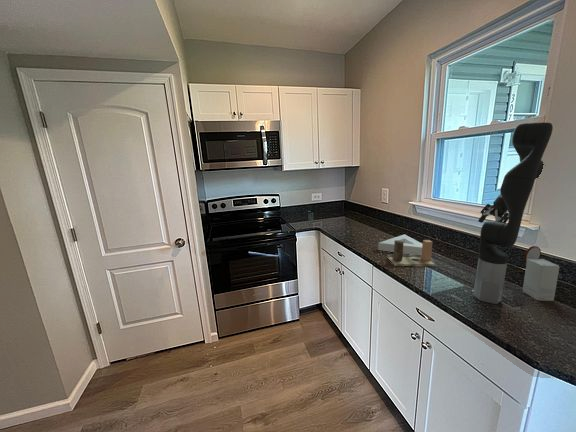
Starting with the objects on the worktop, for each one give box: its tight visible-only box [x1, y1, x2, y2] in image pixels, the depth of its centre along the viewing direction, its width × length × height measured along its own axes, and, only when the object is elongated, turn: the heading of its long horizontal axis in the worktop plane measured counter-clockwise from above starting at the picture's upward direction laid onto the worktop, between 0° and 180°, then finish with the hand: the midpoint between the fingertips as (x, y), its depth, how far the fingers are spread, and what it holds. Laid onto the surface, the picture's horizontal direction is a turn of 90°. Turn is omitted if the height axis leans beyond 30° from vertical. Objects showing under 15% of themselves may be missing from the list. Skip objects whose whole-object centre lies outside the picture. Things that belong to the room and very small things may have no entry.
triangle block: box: [377, 234, 423, 255], centre depth 168 cm, size 30×26×6 cm
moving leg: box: [421, 239, 433, 261], centre depth 143 cm, size 4×6×11 cm, turn 177°
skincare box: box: [522, 258, 560, 302], centre depth 105 cm, size 8×7×16 cm
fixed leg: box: [392, 240, 404, 261], centre depth 144 cm, size 4×6×11 cm, turn 177°
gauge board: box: [386, 254, 436, 268], centre depth 144 cm, size 22×12×2 cm, turn 87°
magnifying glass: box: [523, 245, 542, 264], centre depth 111 cm, size 9×2×20 cm, turn 103°
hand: (485, 225), depth 133 cm, fingers open, 8 cm apart
